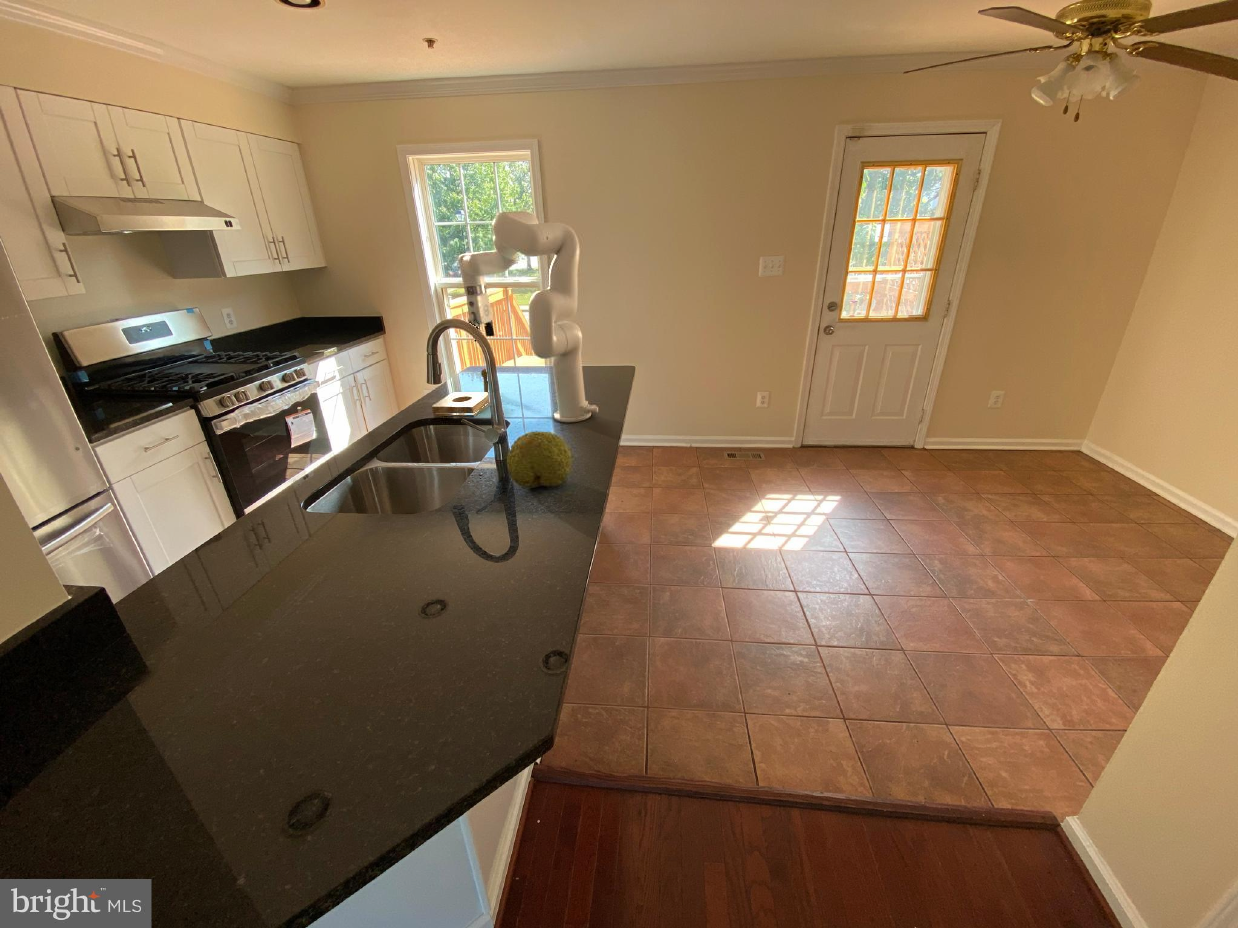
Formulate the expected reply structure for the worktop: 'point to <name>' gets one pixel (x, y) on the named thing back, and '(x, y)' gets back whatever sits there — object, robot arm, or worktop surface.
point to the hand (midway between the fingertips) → (484, 338)
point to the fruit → (539, 460)
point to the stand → (462, 403)
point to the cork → (485, 380)
